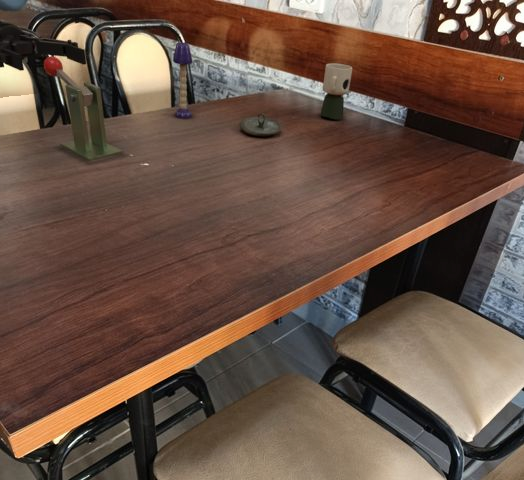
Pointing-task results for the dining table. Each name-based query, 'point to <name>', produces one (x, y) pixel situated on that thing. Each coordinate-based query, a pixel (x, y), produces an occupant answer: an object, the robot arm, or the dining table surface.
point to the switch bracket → (82, 143)
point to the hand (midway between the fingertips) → (53, 59)
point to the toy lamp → (183, 76)
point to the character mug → (335, 89)
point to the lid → (260, 126)
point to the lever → (66, 78)
